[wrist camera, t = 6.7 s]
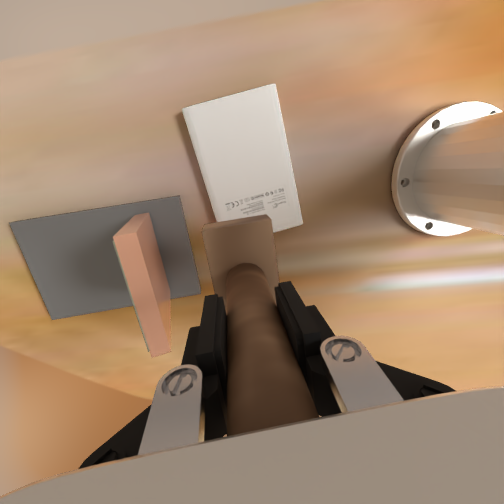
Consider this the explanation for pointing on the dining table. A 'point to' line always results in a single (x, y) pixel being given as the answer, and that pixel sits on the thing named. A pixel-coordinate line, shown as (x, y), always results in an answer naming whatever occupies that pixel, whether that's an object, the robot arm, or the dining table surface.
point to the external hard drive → (245, 157)
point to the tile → (146, 281)
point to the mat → (101, 255)
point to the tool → (255, 328)
